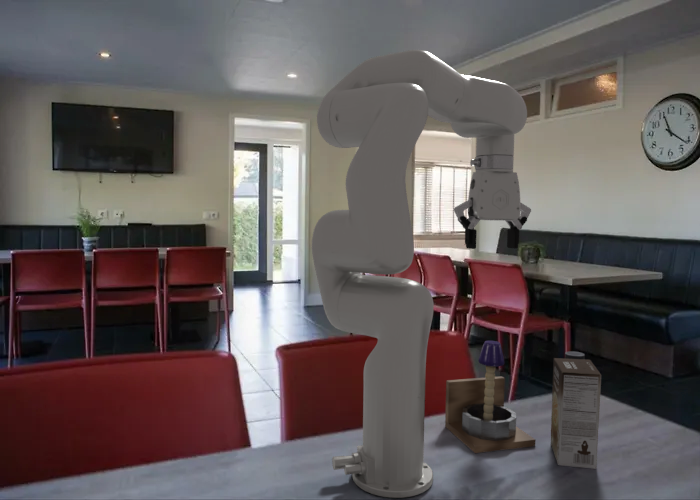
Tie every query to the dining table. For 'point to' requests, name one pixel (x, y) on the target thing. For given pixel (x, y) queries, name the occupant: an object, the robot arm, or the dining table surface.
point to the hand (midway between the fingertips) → (491, 248)
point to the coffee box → (575, 412)
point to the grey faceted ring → (489, 422)
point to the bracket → (473, 393)
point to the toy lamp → (490, 373)
